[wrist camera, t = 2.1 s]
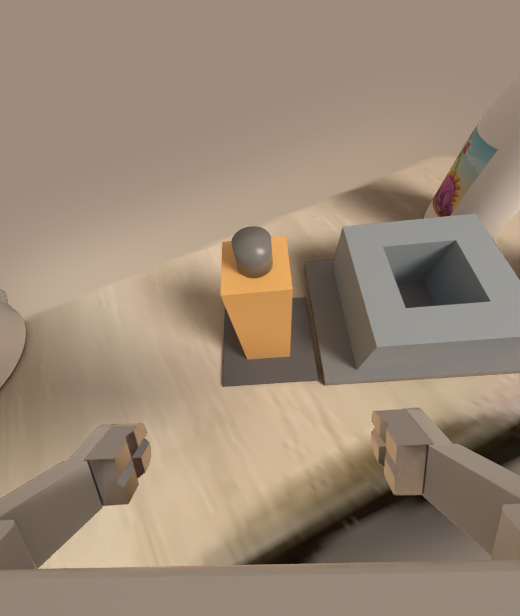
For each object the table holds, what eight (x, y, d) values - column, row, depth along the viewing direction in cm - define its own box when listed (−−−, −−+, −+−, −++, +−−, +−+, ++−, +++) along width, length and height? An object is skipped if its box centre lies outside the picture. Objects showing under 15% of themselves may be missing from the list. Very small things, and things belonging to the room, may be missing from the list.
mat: (223, 386, 25) (222, 385, 24) (225, 305, 29) (225, 304, 29) (318, 380, 24) (318, 379, 24) (305, 298, 28) (305, 297, 28)
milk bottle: (500, 221, 31) (768, -64, 14) (476, 261, 29) (765, -26, 12) (437, 197, 34) (592, -63, 17) (410, 232, 32) (559, -32, 14)
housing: (324, 385, 24) (336, 363, 18) (304, 266, 31) (309, 222, 25) (528, 372, 23) (613, 344, 17) (460, 252, 30) (504, 202, 24)
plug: (247, 359, 25) (211, 274, 13) (246, 321, 27) (215, 218, 15) (289, 356, 25) (293, 267, 13) (285, 318, 27) (285, 210, 15)
